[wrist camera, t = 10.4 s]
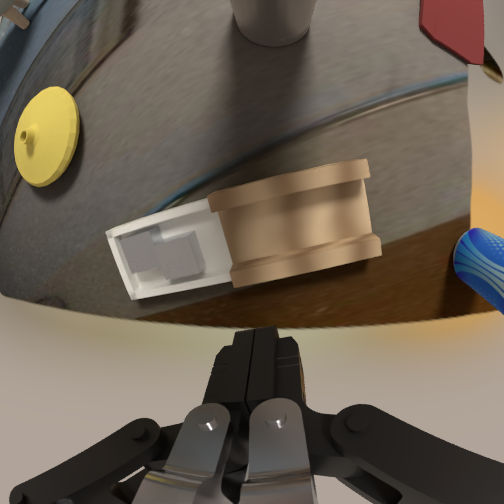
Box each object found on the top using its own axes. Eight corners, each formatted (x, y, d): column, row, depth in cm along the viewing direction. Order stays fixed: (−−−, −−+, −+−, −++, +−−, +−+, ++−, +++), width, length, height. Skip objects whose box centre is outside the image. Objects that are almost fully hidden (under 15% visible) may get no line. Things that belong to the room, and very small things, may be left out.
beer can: (442, 274, 33) (505, 329, 18) (458, 220, 30) (534, 255, 15) (475, 280, 33) (534, 329, 18) (490, 231, 30) (558, 266, 15)
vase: (54, 76, 28) (26, 70, 21) (106, 112, 30) (75, 106, 23) (18, 156, 32) (-10, 160, 26) (61, 203, 34) (31, 212, 28)
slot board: (356, 159, 30) (366, 158, 26) (370, 245, 33) (381, 255, 29) (214, 191, 32) (206, 195, 28) (238, 274, 35) (234, 288, 32)
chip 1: (158, 225, 33) (148, 231, 30) (169, 258, 34) (161, 266, 31) (130, 234, 34) (119, 240, 31) (141, 265, 35) (131, 273, 32)
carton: (466, 73, 26) (467, -18, 14) (482, 70, 21) (479, -25, 10) (408, 38, 26) (414, -50, 14) (421, 30, 21) (424, -60, 10)
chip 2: (194, 229, 33) (187, 236, 30) (205, 263, 34) (199, 273, 31) (162, 238, 33) (153, 245, 31) (174, 271, 35) (166, 280, 32)
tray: (215, 195, 32) (209, 198, 30) (237, 271, 35) (234, 280, 32) (116, 226, 35) (105, 231, 32) (140, 290, 38) (131, 300, 35)
